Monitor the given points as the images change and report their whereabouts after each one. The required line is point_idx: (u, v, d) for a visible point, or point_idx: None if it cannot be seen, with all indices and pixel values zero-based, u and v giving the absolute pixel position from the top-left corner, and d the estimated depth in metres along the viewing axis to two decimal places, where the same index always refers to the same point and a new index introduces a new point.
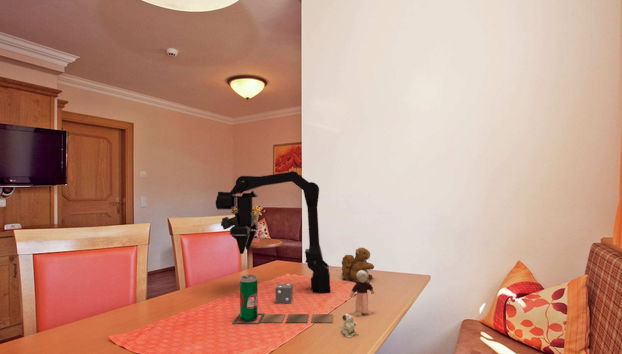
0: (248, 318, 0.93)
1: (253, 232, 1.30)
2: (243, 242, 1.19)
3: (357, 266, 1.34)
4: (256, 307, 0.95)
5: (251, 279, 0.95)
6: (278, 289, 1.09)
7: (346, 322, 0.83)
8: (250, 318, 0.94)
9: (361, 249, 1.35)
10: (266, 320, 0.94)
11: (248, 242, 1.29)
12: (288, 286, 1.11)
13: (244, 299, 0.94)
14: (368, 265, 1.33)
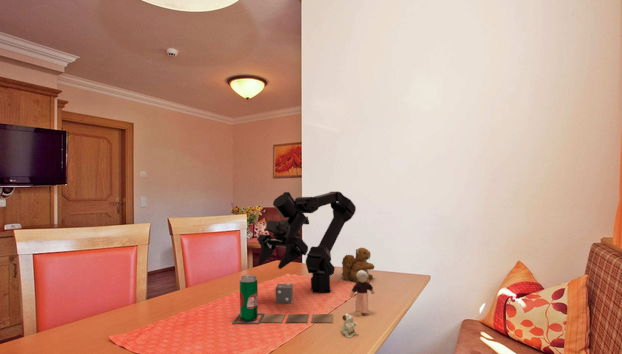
0: (248, 318, 0.93)
1: (271, 251, 1.12)
2: (291, 258, 1.03)
3: (358, 266, 1.34)
4: (256, 307, 0.95)
5: (251, 279, 0.95)
6: (278, 289, 1.09)
7: (346, 322, 0.83)
8: (250, 318, 0.94)
9: (361, 249, 1.35)
10: (266, 320, 0.94)
11: (264, 258, 1.08)
12: (288, 286, 1.11)
13: (244, 299, 0.94)
14: (368, 265, 1.33)
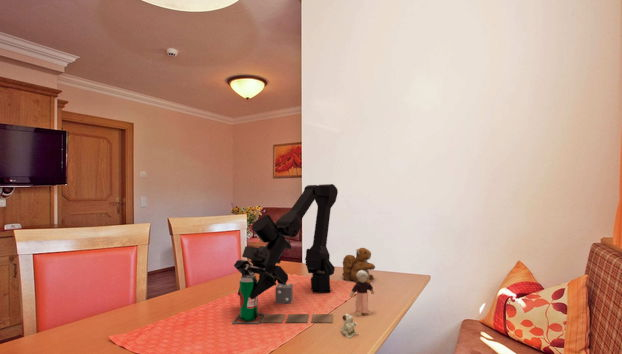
0: (248, 318, 0.93)
1: None
2: (264, 287, 0.96)
3: (358, 266, 1.33)
4: (256, 307, 0.95)
5: (251, 279, 0.95)
6: (278, 289, 1.09)
7: (346, 322, 0.83)
8: (250, 318, 0.94)
9: (362, 249, 1.35)
10: (266, 320, 0.94)
11: None
12: (288, 286, 1.11)
13: (244, 299, 0.94)
14: (369, 265, 1.33)
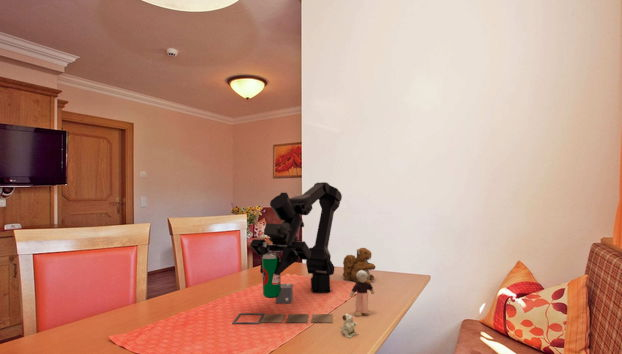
0: (273, 294, 0.93)
1: None
2: (287, 263, 0.96)
3: (358, 266, 1.33)
4: (280, 283, 0.95)
5: (275, 255, 0.94)
6: None
7: (346, 322, 0.83)
8: (275, 294, 0.93)
9: (362, 249, 1.35)
10: (266, 320, 0.94)
11: None
12: (288, 286, 1.11)
13: (269, 276, 0.93)
14: (369, 265, 1.32)
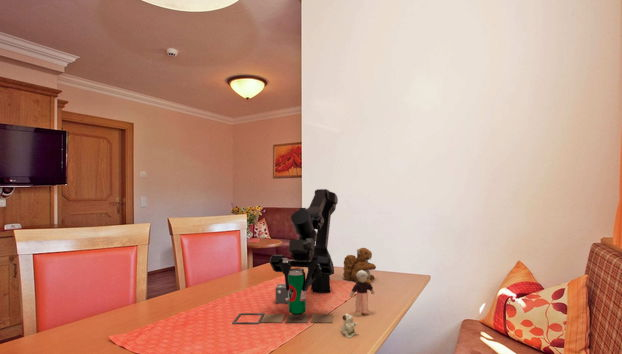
0: (301, 310, 0.93)
1: None
2: (312, 278, 0.97)
3: (359, 266, 1.33)
4: (305, 299, 0.96)
5: (302, 272, 0.95)
6: (278, 289, 1.09)
7: (346, 322, 0.83)
8: (303, 310, 0.94)
9: (363, 249, 1.35)
10: (266, 320, 0.94)
11: None
12: None
13: (297, 292, 0.93)
14: (369, 265, 1.32)
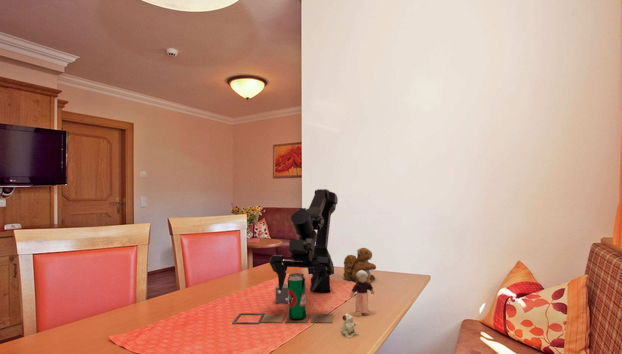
0: (301, 315, 0.93)
1: (285, 273, 1.02)
2: (319, 279, 0.96)
3: (359, 266, 1.33)
4: (305, 304, 0.96)
5: (302, 277, 0.95)
6: (278, 289, 1.09)
7: (346, 322, 0.83)
8: (303, 315, 0.94)
9: (363, 249, 1.35)
10: (266, 320, 0.94)
11: (282, 281, 0.98)
12: None
13: (297, 298, 0.93)
14: (370, 265, 1.32)
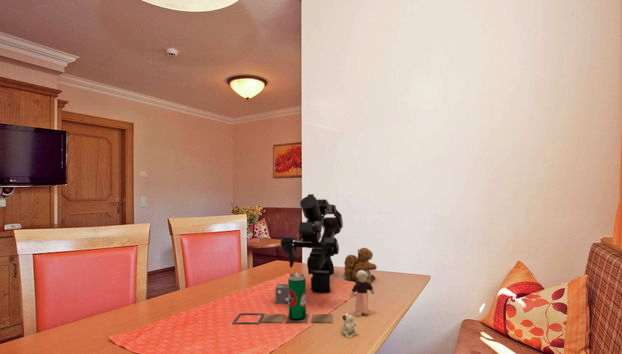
0: (301, 315, 0.93)
1: (295, 253, 1.12)
2: (326, 258, 1.06)
3: (359, 266, 1.33)
4: None
5: (302, 277, 0.95)
6: (278, 289, 1.09)
7: (346, 322, 0.83)
8: (303, 316, 0.94)
9: (363, 249, 1.35)
10: (266, 320, 0.94)
11: (293, 260, 1.07)
12: None
13: (297, 298, 0.93)
14: (370, 265, 1.32)
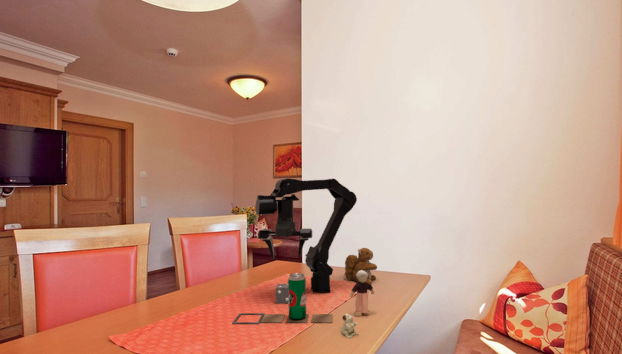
0: (301, 315, 0.93)
1: (272, 239, 1.21)
2: None
3: (360, 266, 1.33)
4: None
5: (302, 277, 0.95)
6: (278, 289, 1.09)
7: (346, 322, 0.83)
8: (303, 316, 0.94)
9: (364, 249, 1.35)
10: (266, 320, 0.94)
11: (273, 250, 1.19)
12: None
13: (297, 298, 0.93)
14: (370, 265, 1.32)
